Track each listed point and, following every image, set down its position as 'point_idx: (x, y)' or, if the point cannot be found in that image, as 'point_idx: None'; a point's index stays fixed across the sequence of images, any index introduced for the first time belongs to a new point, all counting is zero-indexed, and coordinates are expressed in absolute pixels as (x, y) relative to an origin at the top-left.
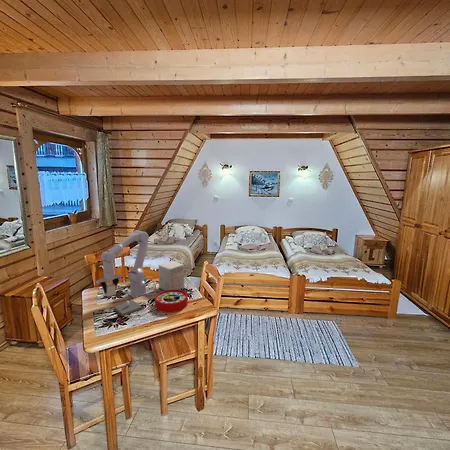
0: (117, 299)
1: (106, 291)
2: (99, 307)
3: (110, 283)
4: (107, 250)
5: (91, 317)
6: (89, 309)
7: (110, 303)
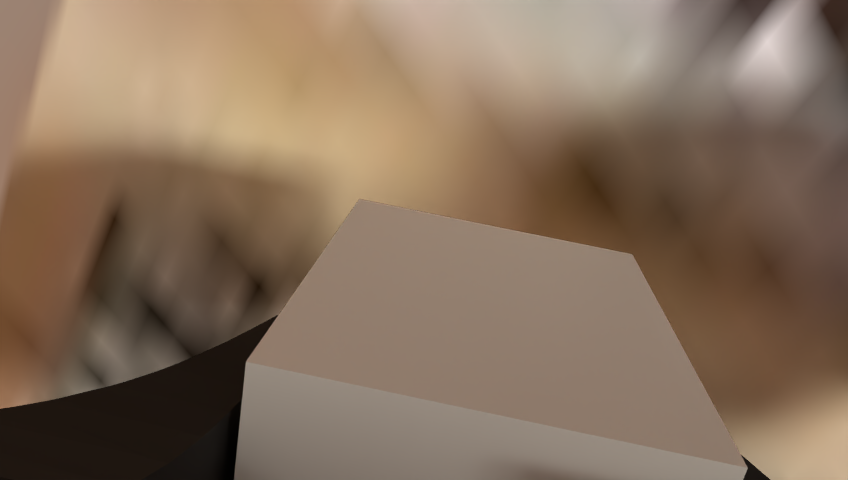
0: (729, 115)
1: None
2: (269, 131)
3: (618, 477)
4: None
5: (25, 346)
6: (94, 39)
7: (509, 160)
